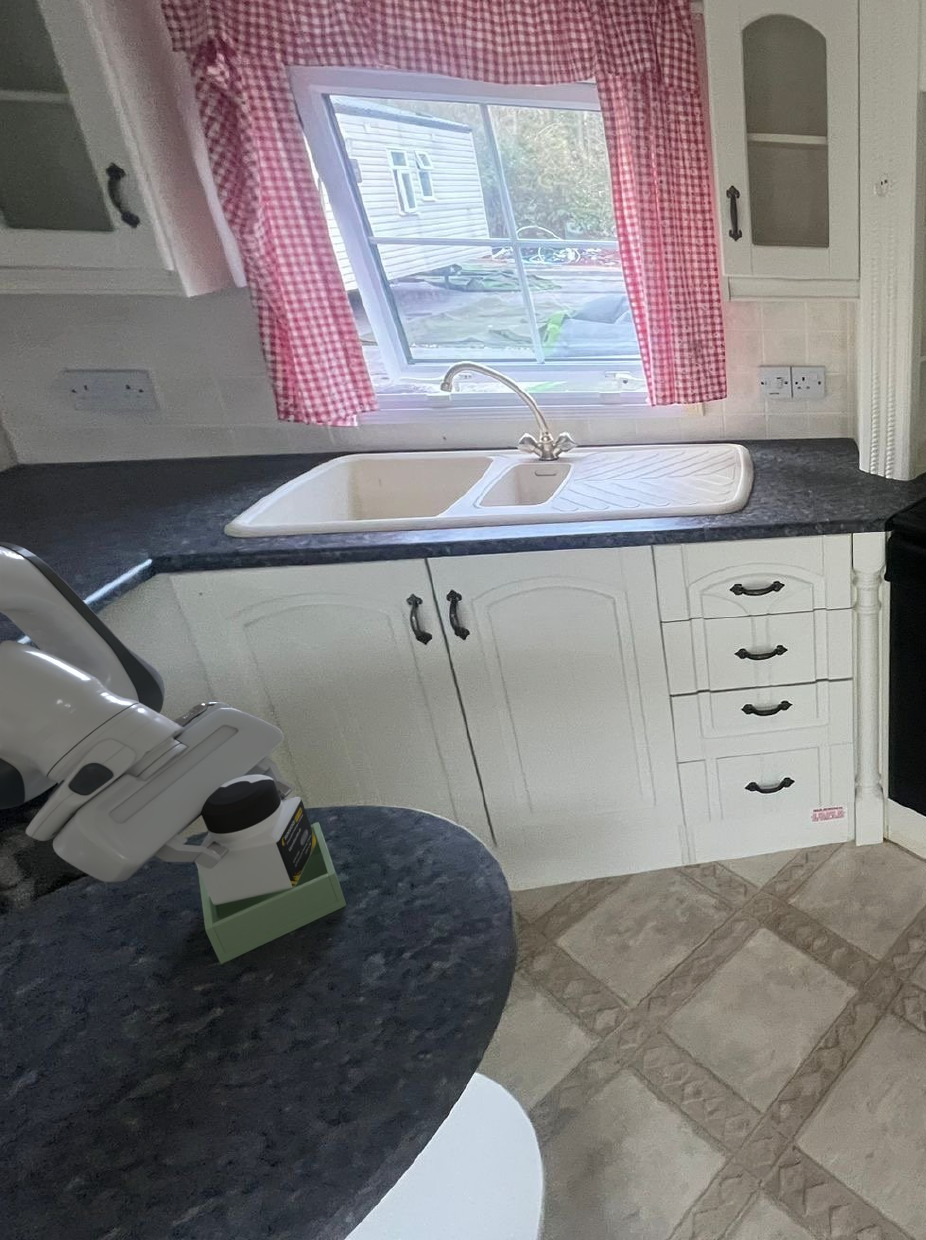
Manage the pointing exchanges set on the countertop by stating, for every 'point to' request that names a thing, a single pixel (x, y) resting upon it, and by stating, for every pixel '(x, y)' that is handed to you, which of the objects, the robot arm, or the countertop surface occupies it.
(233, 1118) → the countertop surface
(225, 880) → the medicine bottle
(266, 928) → the tub
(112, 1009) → the countertop surface
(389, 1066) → the countertop surface
